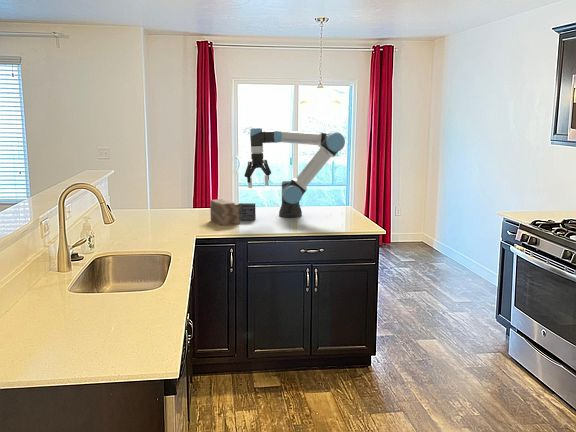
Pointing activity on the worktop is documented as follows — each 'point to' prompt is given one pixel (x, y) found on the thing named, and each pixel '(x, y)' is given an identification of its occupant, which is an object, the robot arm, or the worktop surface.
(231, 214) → the brown patterned block
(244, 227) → the worktop surface
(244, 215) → the small box
